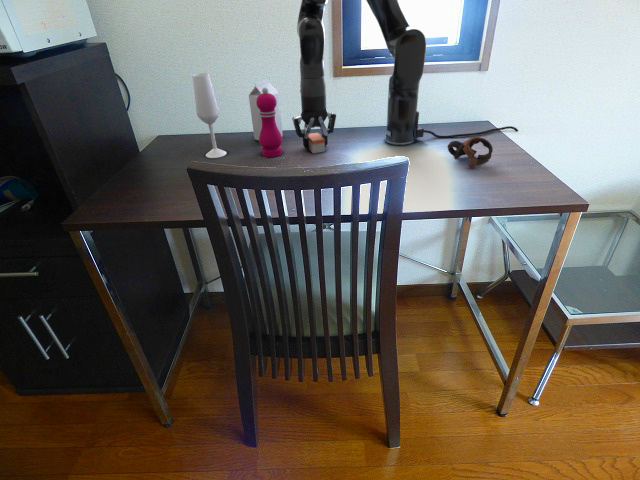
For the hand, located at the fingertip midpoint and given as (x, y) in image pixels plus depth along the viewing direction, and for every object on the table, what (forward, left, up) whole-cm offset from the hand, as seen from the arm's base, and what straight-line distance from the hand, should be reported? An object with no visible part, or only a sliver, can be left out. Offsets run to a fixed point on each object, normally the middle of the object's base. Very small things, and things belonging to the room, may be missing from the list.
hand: (315, 147), depth 124 cm
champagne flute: (+31, -9, -1) cm, 32 cm away
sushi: (0, 0, -1) cm, 1 cm away
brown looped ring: (-37, +28, -1) cm, 46 cm away
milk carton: (+12, -17, -1) cm, 21 cm away
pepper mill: (+14, -2, -1) cm, 14 cm away
